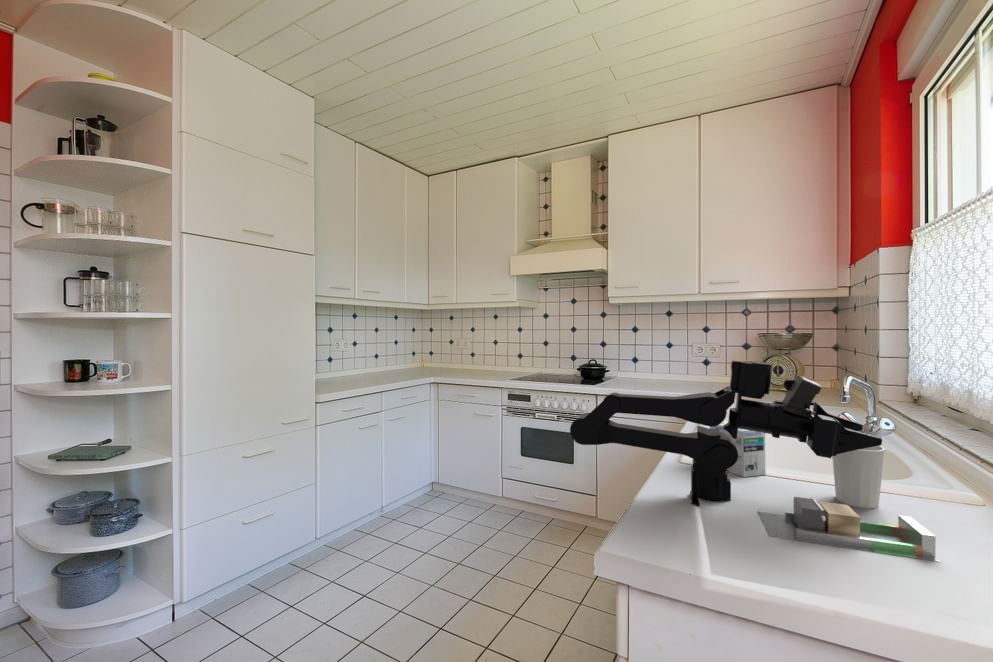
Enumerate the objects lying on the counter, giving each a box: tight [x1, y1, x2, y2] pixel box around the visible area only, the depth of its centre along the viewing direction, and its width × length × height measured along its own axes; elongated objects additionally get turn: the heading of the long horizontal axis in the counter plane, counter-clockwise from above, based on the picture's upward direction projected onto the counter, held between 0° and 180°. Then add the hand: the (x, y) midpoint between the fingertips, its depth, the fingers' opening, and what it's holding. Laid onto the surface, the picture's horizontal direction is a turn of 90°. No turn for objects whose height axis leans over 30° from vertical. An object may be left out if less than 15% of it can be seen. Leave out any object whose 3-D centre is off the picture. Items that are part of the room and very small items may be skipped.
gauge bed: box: [757, 510, 942, 563], centre depth 70 cm, size 21×10×2 cm, turn 69°
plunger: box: [793, 496, 826, 532], centre depth 71 cm, size 3×6×4 cm, turn 158°
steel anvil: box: [897, 514, 937, 557], centre depth 67 cm, size 2×7×3 cm, turn 159°
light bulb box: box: [709, 420, 767, 478], centre depth 105 cm, size 11×7×11 cm, turn 17°
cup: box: [831, 445, 886, 510], centre depth 83 cm, size 8×8×12 cm
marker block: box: [817, 500, 861, 537], centre depth 70 cm, size 4×5×4 cm
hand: (871, 434), depth 75 cm, fingers open, 9 cm apart
